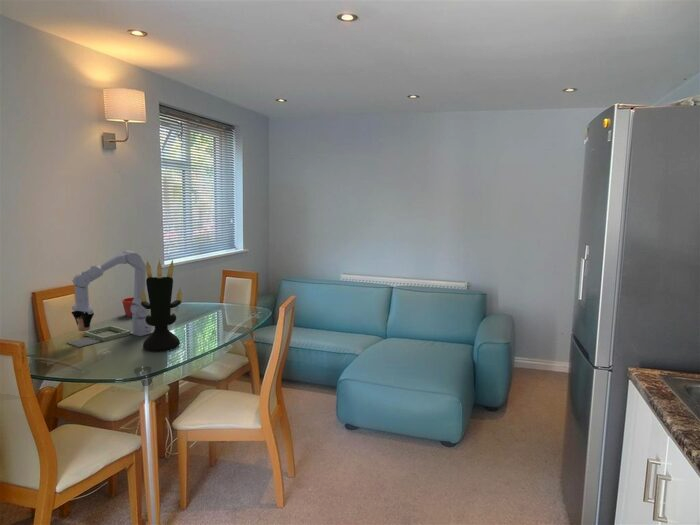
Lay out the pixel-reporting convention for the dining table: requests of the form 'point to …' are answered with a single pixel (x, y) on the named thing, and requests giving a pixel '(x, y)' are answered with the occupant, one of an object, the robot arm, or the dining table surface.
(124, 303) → the flower pot
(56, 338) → the dining table surface
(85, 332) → the pale green square frame
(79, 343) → the slate tile
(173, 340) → the candelabra
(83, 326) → the seedling pot
